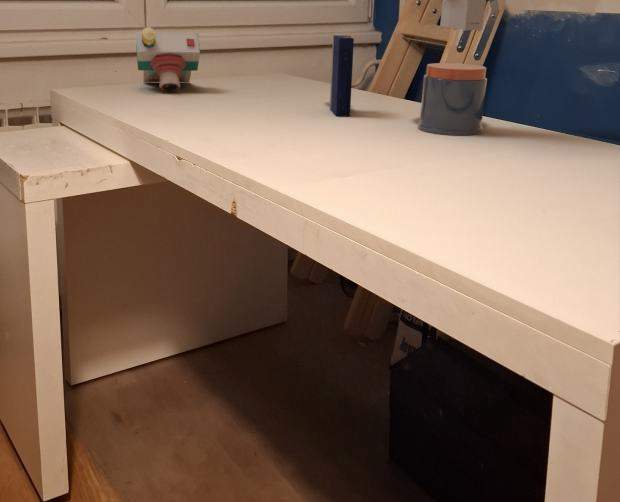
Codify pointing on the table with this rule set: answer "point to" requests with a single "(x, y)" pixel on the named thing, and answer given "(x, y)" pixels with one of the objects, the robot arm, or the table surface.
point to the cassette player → (341, 75)
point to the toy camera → (167, 57)
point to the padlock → (462, 14)
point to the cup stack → (453, 99)
